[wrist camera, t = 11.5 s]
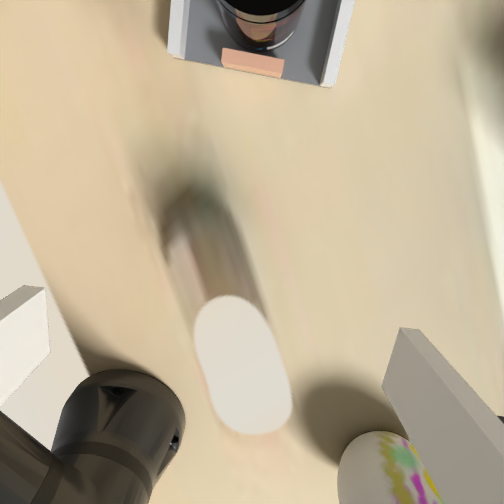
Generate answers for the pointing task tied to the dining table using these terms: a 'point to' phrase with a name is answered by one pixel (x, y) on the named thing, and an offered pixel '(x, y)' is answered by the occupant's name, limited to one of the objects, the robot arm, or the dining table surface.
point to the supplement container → (261, 21)
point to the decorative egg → (384, 472)
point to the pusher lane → (272, 62)
